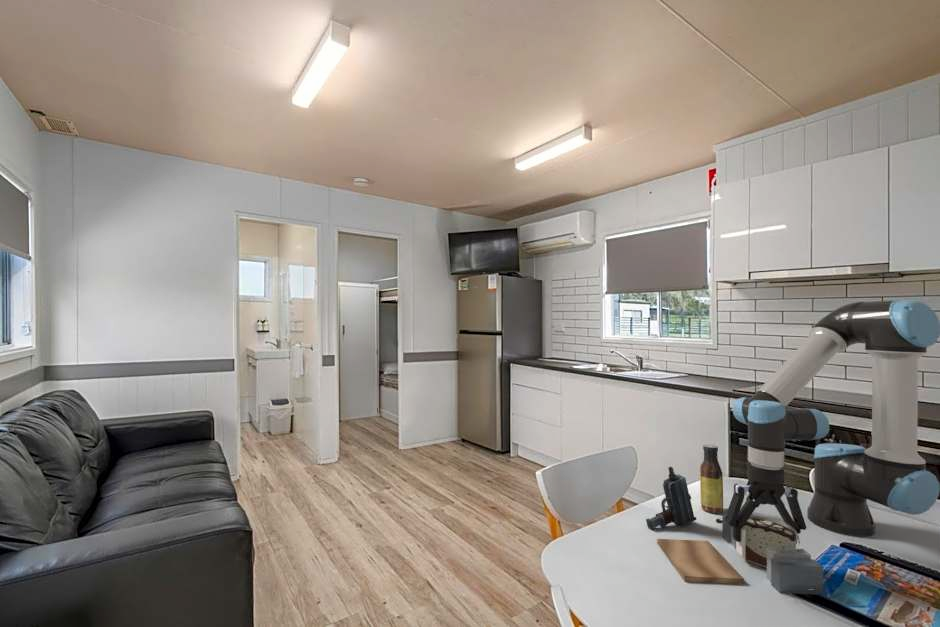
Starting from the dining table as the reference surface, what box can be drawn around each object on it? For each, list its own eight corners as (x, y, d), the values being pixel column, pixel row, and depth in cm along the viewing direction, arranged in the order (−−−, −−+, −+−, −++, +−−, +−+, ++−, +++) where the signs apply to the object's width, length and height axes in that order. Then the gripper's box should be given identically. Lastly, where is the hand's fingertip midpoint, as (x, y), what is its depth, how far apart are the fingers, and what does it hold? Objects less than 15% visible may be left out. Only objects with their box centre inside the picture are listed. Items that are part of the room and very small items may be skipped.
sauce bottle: (727, 514, 134) (727, 449, 134) (707, 514, 134) (706, 449, 134) (715, 505, 140) (715, 443, 141) (696, 505, 140) (696, 443, 141)
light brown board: (707, 545, 115) (707, 540, 115) (744, 584, 98) (744, 578, 98) (657, 543, 116) (657, 538, 116) (684, 581, 99) (684, 576, 99)
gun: (635, 479, 125) (677, 461, 129) (648, 535, 126) (690, 515, 130) (641, 483, 122) (684, 464, 126) (655, 539, 123) (697, 519, 127)
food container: (803, 568, 105) (804, 526, 105) (799, 579, 101) (799, 535, 101) (744, 548, 114) (745, 510, 114) (738, 557, 109) (738, 517, 109)
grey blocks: (748, 531, 123) (748, 506, 123) (823, 594, 95) (823, 562, 95) (715, 530, 124) (714, 505, 124) (779, 592, 95) (779, 560, 95)
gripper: (804, 462, 111) (803, 550, 110) (709, 458, 112) (708, 545, 112) (826, 472, 103) (825, 567, 103) (724, 468, 105) (723, 561, 104)
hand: (764, 555), depth 107 cm, fingers closed on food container, 11 cm apart
